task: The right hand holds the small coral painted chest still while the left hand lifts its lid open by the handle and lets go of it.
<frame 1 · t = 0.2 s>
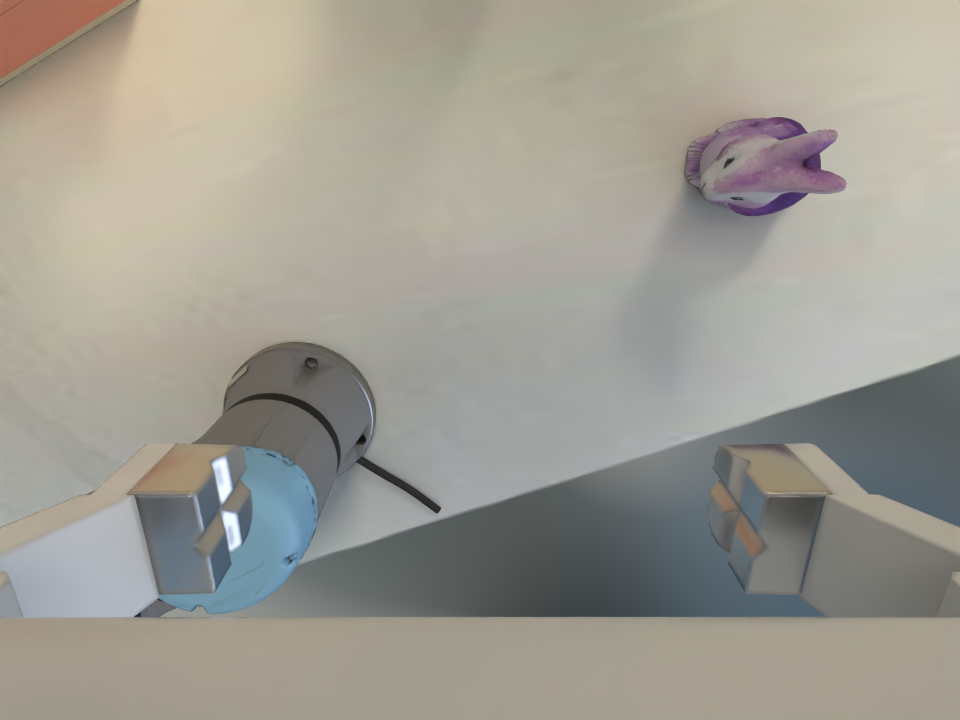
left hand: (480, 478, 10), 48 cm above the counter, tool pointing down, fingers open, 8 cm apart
figurine: (731, 168, 54), on the counter
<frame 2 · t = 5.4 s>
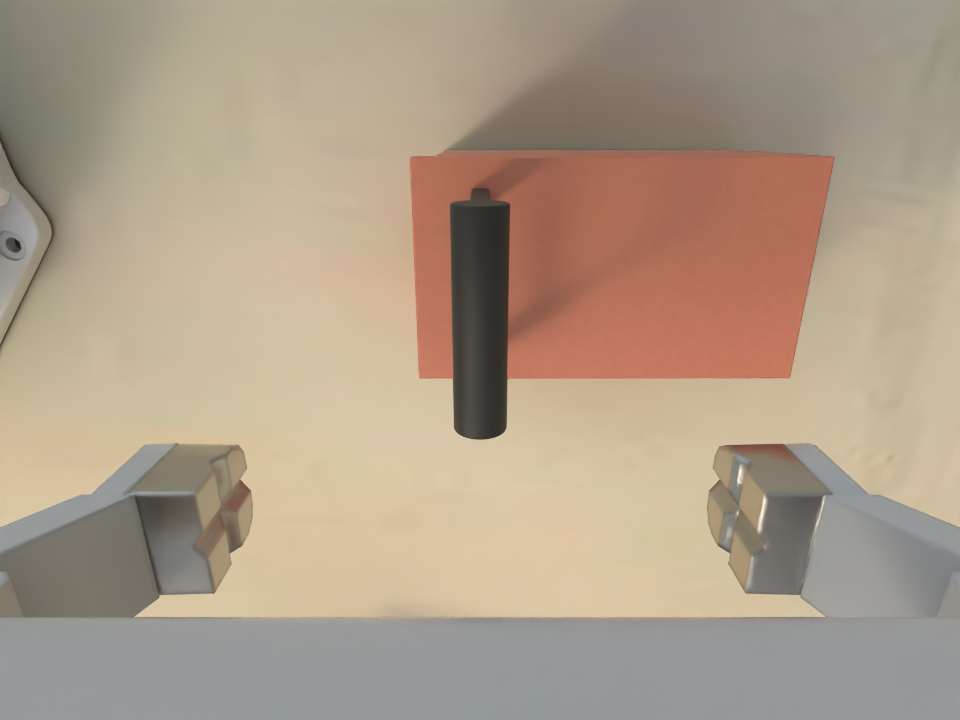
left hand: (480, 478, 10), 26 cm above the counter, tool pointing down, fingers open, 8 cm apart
lid: (631, 295, 22), point 13 cm above the counter, hinge at 0.0°
chest: (584, 236, 35), on the counter
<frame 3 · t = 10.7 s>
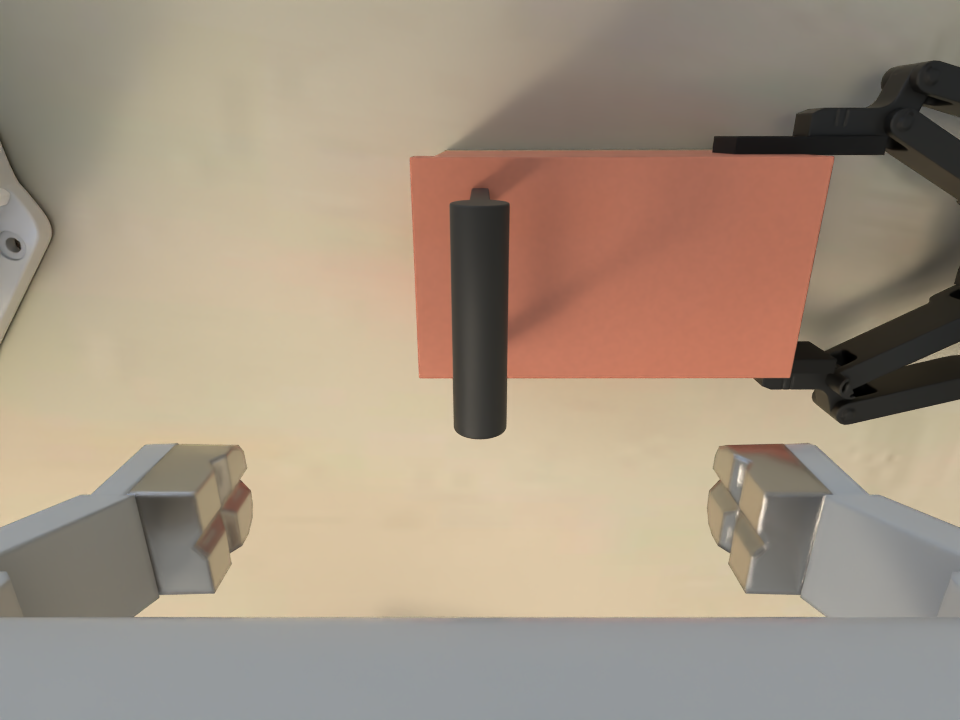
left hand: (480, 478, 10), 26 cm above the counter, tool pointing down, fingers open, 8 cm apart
right hand: (708, 258, 29), fingers closed on chest, 10 cm apart
lid: (630, 294, 22), point 13 cm above the counter, hinge at 0.0°
chest: (584, 236, 35), on the counter, touching right hand
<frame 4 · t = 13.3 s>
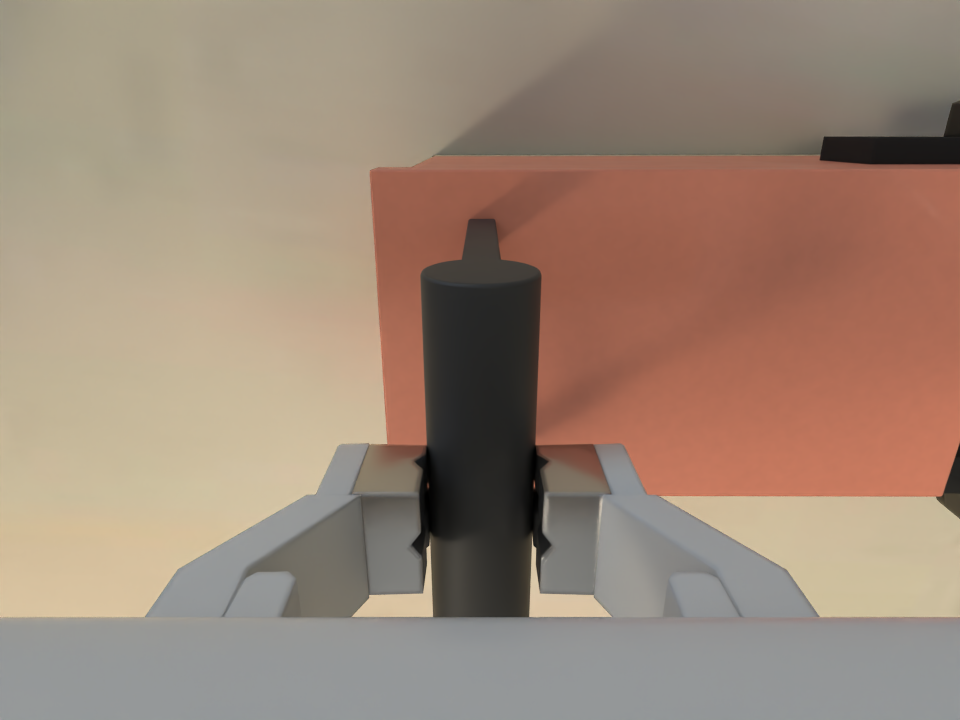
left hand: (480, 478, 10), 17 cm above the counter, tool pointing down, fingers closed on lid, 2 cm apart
lid: (732, 400, 13), point 13 cm above the counter, hinge at 0.0°, touching left hand
chest: (621, 270, 26), on the counter, touching right hand
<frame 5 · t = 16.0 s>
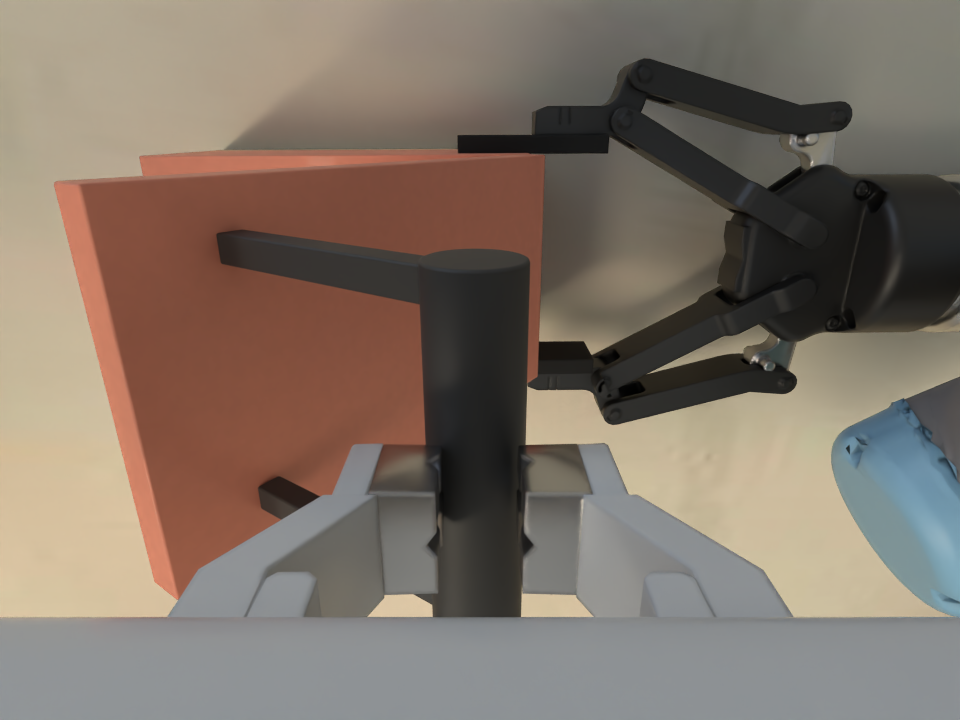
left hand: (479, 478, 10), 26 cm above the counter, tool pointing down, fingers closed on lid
right hand: (460, 258, 28), fingers closed on chest, 10 cm apart
lid: (492, 341, 17), point 19 cm above the counter, hinge at 53.2°, touching left hand
chest: (375, 236, 34), on the counter, touching right hand
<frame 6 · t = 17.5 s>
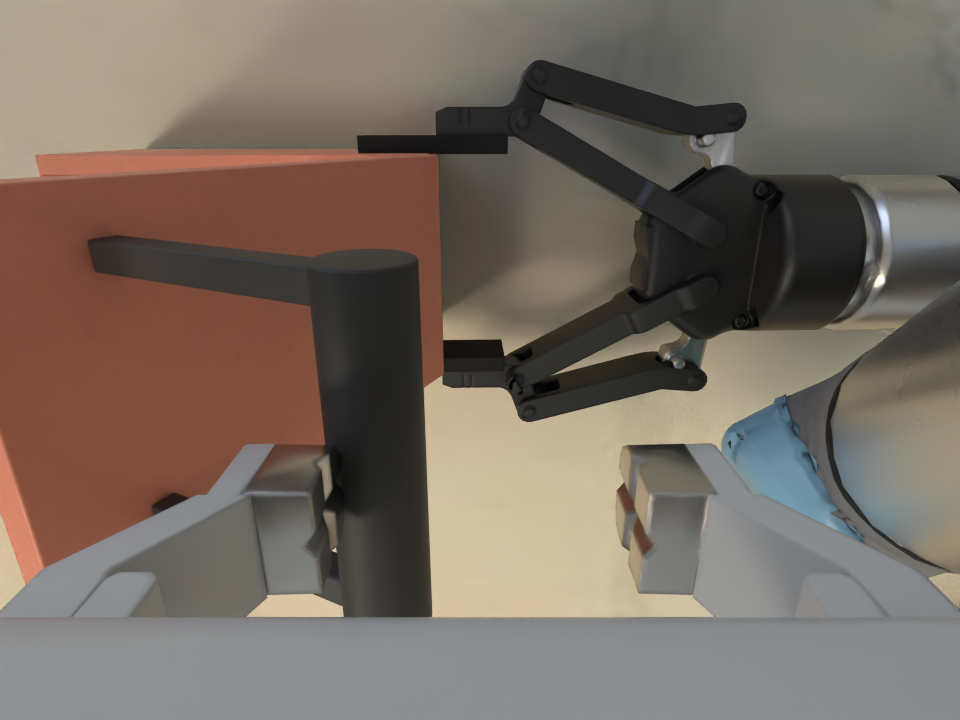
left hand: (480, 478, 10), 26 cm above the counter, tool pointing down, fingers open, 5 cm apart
right hand: (370, 257, 29), fingers closed on chest, 10 cm apart
lid: (393, 341, 17), point 19 cm above the counter, hinge at 61.7°, touching left hand
chest: (300, 235, 35), on the counter, touching right hand
when the right hand's fingers open (6 cm above the counter, at t = 20.8 s): chest stays where it is, on the counter.
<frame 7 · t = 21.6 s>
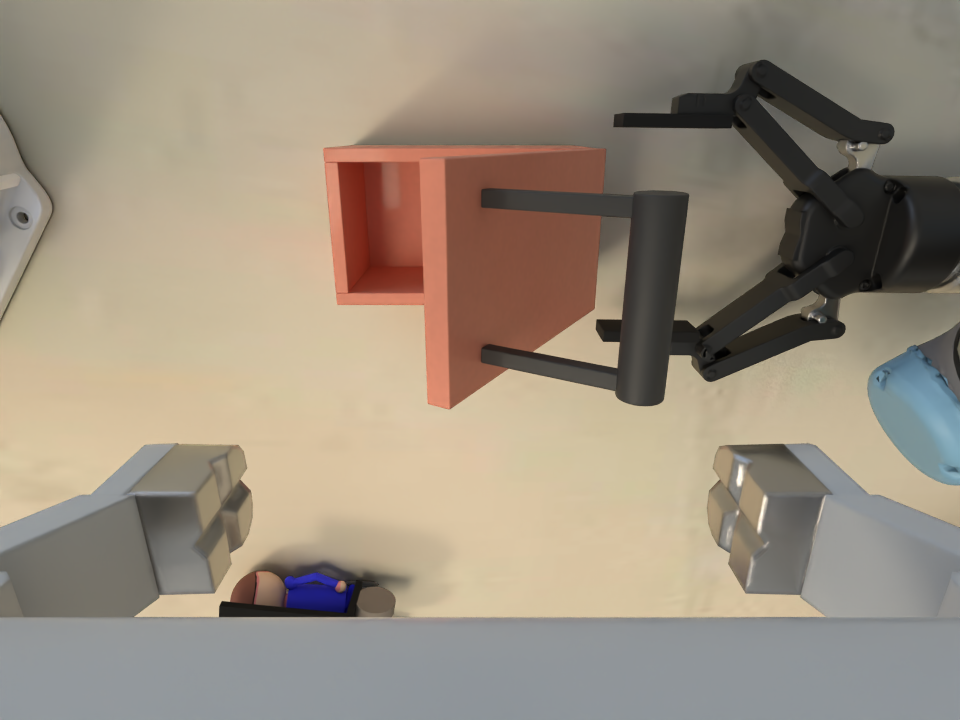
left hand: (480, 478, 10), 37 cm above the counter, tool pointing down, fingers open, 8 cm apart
right hand: (607, 231, 39), fingers open, 13 cm apart
figurine character: (321, 585, 58), on the counter
lid: (607, 263, 27), point 19 cm above the counter, hinge at 59.9°
chest: (463, 212, 45), on the counter
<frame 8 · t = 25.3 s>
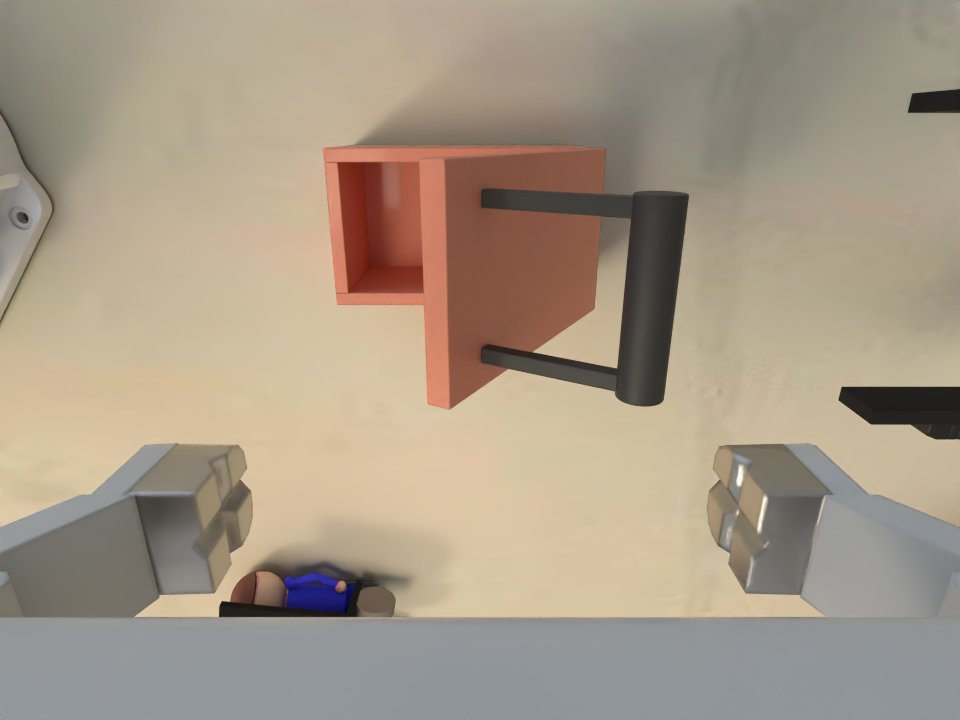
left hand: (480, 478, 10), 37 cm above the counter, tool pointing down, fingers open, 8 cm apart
figurine character: (321, 585, 58), on the counter
lid: (606, 263, 27), point 19 cm above the counter, hinge at 59.9°
chest: (463, 212, 45), on the counter
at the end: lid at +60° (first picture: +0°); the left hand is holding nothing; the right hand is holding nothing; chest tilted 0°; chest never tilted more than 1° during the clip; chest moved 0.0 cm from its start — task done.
